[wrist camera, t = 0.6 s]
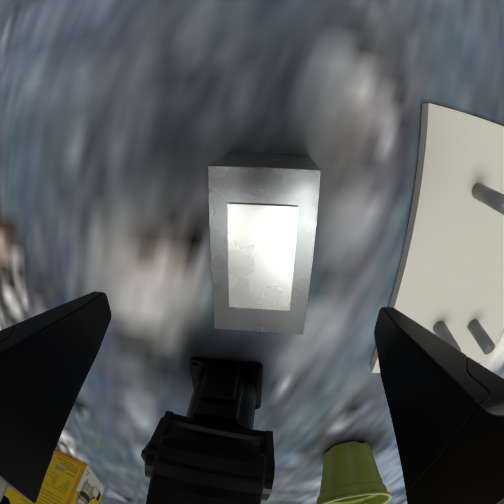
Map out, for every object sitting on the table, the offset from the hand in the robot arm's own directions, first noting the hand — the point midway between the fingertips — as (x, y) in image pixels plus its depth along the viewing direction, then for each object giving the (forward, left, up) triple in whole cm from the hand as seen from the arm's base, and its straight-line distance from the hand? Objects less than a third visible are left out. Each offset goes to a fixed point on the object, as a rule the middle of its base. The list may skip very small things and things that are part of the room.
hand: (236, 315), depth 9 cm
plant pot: (-31, -12, -12) cm, 35 cm away
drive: (-1, 0, -12) cm, 12 cm away
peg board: (-3, -17, -12) cm, 21 cm away
